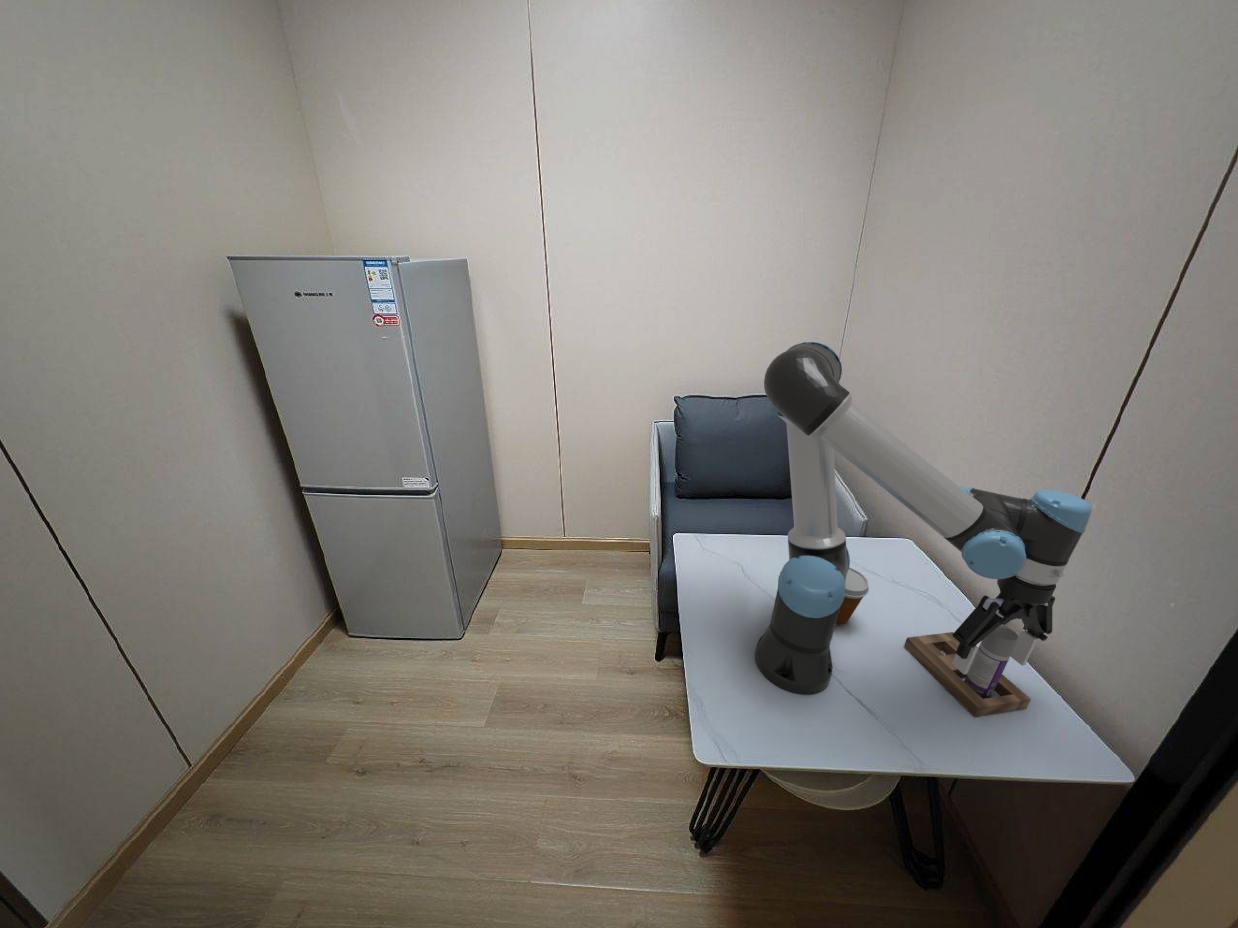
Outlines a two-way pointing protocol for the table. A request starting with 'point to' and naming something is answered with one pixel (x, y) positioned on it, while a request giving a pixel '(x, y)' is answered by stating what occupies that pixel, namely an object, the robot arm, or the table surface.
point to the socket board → (949, 676)
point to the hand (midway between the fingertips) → (988, 664)
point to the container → (991, 661)
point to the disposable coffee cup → (852, 595)
